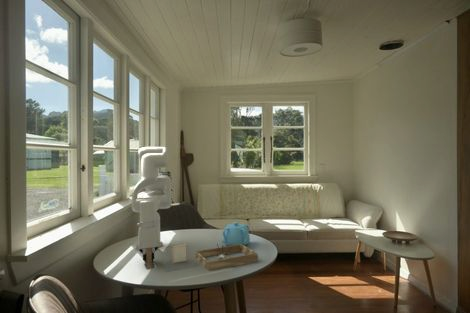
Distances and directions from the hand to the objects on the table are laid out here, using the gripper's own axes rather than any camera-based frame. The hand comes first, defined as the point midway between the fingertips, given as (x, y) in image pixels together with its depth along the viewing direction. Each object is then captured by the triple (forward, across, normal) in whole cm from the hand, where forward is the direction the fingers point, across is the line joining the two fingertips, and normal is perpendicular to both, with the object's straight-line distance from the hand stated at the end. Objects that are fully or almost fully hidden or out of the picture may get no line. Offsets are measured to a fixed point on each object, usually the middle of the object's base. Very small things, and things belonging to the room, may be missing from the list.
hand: (148, 260), depth 147 cm
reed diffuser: (+2, +36, -14) cm, 39 cm away
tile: (+1, +14, -7) cm, 16 cm away
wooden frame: (+1, +36, -15) cm, 39 cm away
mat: (+1, +13, -11) cm, 17 cm away
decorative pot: (+2, +52, +6) cm, 52 cm away
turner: (+1, 0, -4) cm, 5 cm away
